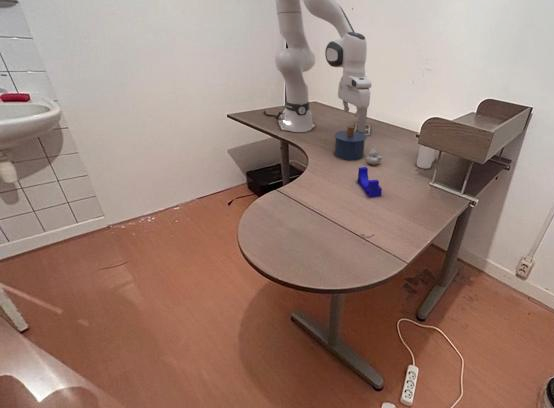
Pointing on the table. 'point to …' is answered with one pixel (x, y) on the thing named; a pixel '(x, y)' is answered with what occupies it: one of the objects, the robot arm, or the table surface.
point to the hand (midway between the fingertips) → (351, 114)
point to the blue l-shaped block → (368, 183)
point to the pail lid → (350, 135)
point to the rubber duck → (373, 157)
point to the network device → (363, 123)
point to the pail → (349, 150)
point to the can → (425, 157)
